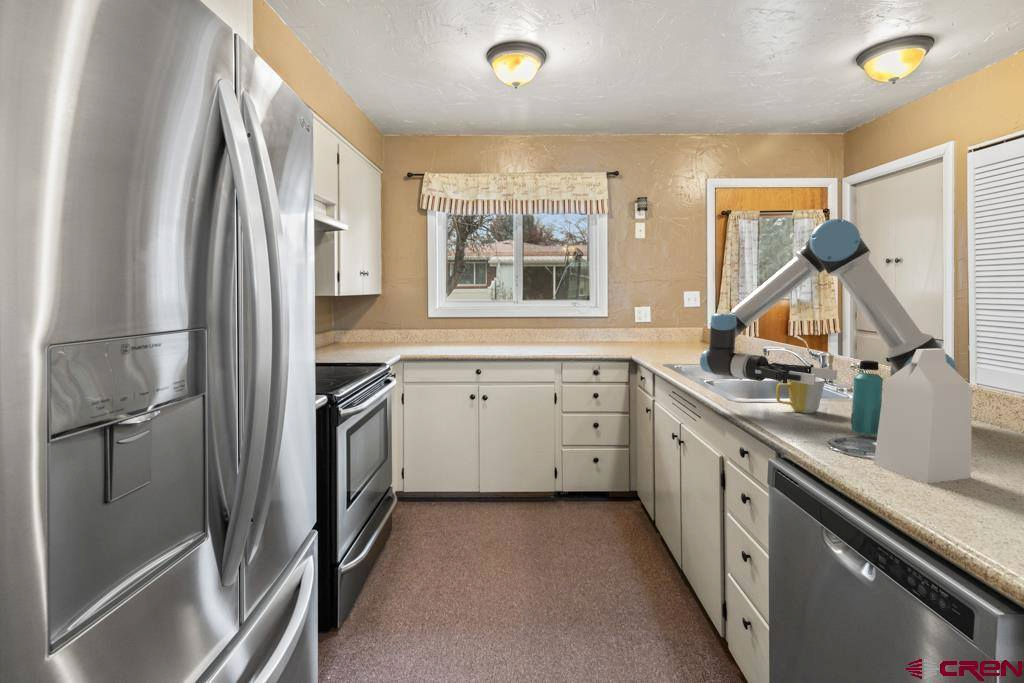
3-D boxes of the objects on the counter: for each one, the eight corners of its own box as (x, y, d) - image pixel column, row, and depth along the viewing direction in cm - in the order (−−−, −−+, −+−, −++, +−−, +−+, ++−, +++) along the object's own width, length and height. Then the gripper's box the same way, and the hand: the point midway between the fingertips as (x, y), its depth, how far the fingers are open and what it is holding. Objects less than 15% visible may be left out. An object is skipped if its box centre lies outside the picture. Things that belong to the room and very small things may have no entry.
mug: (818, 408, 173) (820, 376, 172) (827, 416, 163) (829, 381, 162) (771, 406, 177) (773, 374, 176) (777, 413, 167) (779, 379, 166)
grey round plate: (856, 439, 138) (856, 434, 138) (911, 455, 125) (912, 450, 125) (813, 444, 134) (813, 439, 134) (866, 461, 120) (866, 455, 120)
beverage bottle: (884, 441, 136) (890, 362, 134) (855, 439, 138) (860, 362, 136) (873, 434, 143) (878, 359, 141) (845, 433, 144) (850, 358, 142)
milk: (926, 483, 107) (937, 353, 104) (873, 465, 118) (882, 347, 115) (970, 477, 110) (982, 351, 108) (914, 460, 121) (924, 345, 119)
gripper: (770, 375, 171) (843, 386, 155) (727, 383, 156) (803, 396, 139) (771, 352, 170) (845, 360, 154) (728, 357, 155) (805, 367, 139)
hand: (825, 377), depth 147 cm, fingers open, 13 cm apart
